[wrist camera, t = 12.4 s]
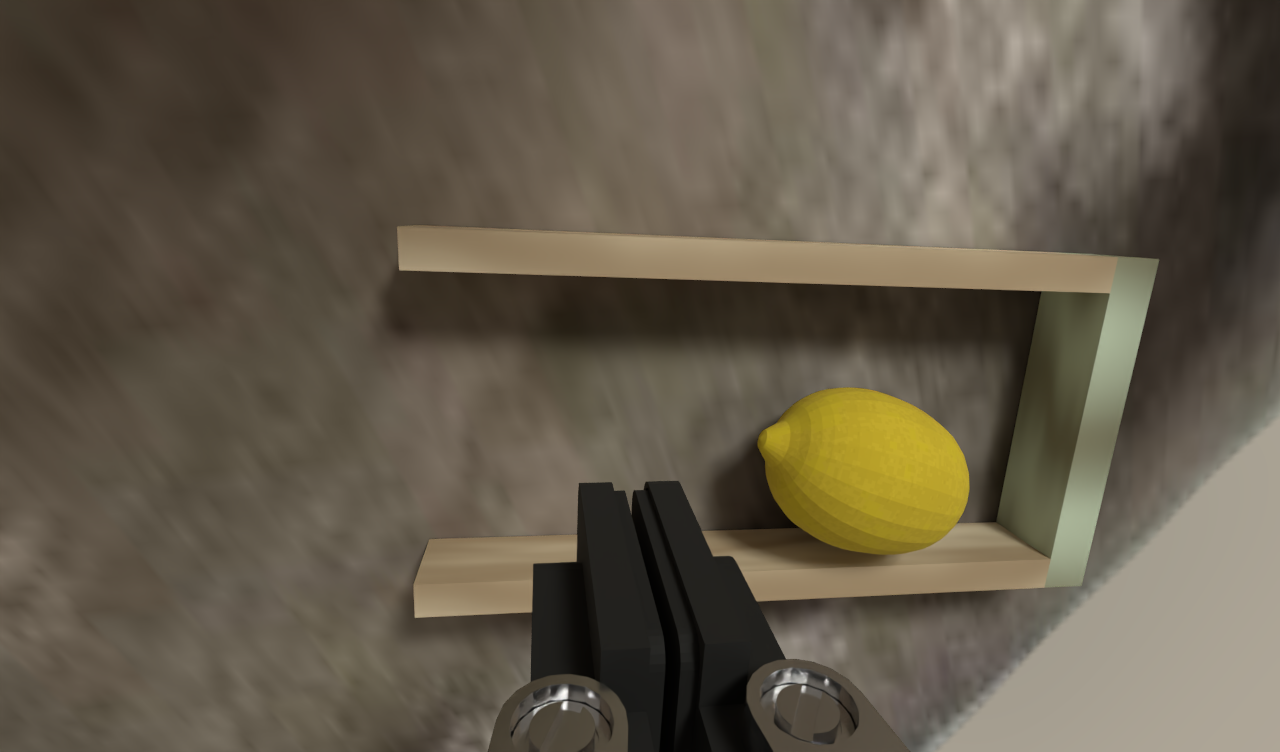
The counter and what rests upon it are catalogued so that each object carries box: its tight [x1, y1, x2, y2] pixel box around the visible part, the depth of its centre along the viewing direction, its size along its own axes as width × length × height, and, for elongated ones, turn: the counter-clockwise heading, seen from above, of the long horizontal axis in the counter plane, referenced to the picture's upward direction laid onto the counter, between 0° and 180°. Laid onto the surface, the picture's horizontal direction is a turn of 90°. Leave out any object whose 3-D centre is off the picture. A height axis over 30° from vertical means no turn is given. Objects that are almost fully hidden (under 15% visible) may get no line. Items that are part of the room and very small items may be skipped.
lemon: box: [757, 388, 969, 555], centre depth 22 cm, size 6×6×8 cm
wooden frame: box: [397, 225, 1159, 618], centre depth 22 cm, size 12×25×3 cm, turn 88°
